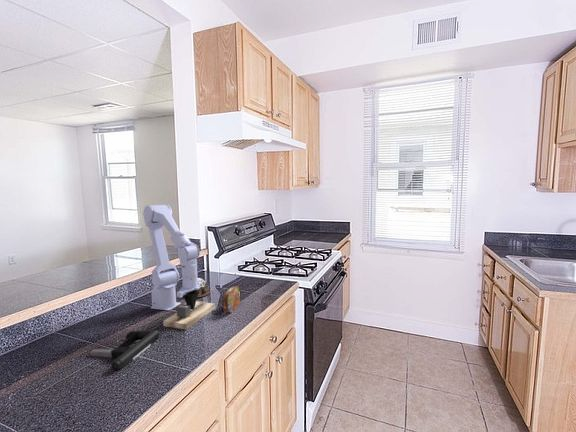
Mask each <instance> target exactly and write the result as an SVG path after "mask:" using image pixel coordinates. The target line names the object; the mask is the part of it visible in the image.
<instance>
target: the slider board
mask: <svg viewBox="0 0 576 432" xmlns="http://www.w3.org/2000/svg"><path fill="white" fill-rule="evenodd" d="M215 309H216V303H213V302H207V301H206V302H204V301H203V302H202V301H197V300H196V304H195V308H194V309H193V310H191V309H190V312H191V314H190V315H189V316H187V317H186V318H185V317H178V316H177V312H175V313H174V314H173V313H172V315H170V316H169V317H167V318H165V319H164V320H163V327H165V328H166V327H168V328H174V329H181V330H188V329H189V328H191V327H192V326H193V325H195V324H196V323H197V322H199V320H201V319H203V318H204V317H205V316H207V315H208V314H209V313H211V312H212V311H213V310H215Z"/></svg>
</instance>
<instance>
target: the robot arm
mask: <svg viewBox="0 0 576 432" xmlns="http://www.w3.org/2000/svg"><path fill="white" fill-rule="evenodd" d="M142 214H143V219H144V223H145V226H146V227H148V232H149V236H150V240H151V244H152V249H153V255H154V258H155V263H156V266H155V267H154V268H153V269H152V271H151V282H152V285H153V286H154V287H152V290H151V307H150V309H153V310H161V311H171V310H173V309H174V308H176V307H178V306H180V305H182V303H181V302H180V301H179V302H177V298H183V300H184V302H185V303H186V305H189V306H190V309H191V310H193V309H194V308H195V304H196V301H197V299H198V297H197V296H198V294H199V292H200V290H198V289H200V286H203V281H198V278H199V277H198V263H197V262H198V261H197V260H198V258H199V257H200V253H201V252H200V248H199V246H198V244H196V243H194V242H191V240H190V239H189V237H188V236H187V234H186V233H185V231H184V230H180V229H179V226H178V225H177V223H176V221H175V219H174V218H173V210H172V207H171V206H170V205H169V204H168V203H167V204H166V203H165V204H155V205H145V207H144V209H143V212H142ZM163 226H164V228H166V230H167V231H168V232H169V234H171V236H170V240H171V242H172V243H173V245H174V246H175V248H176V249H177V252H178V253H177V257H178V260H179V264H180V266H181V274H182V275H181V278H182V280H181V281H182V286H181V288H180V289H179V290H178V291H177V292H176V286H178V285H177V284H178V283H179V282H180V281H179V280H180V273H179V272H178V269H177V266H176V265H175V264H174V263H171V262H170V259H169V255H168V254H169V253H168V249H167V245H166V241H165V237H164V232H163Z"/></svg>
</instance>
